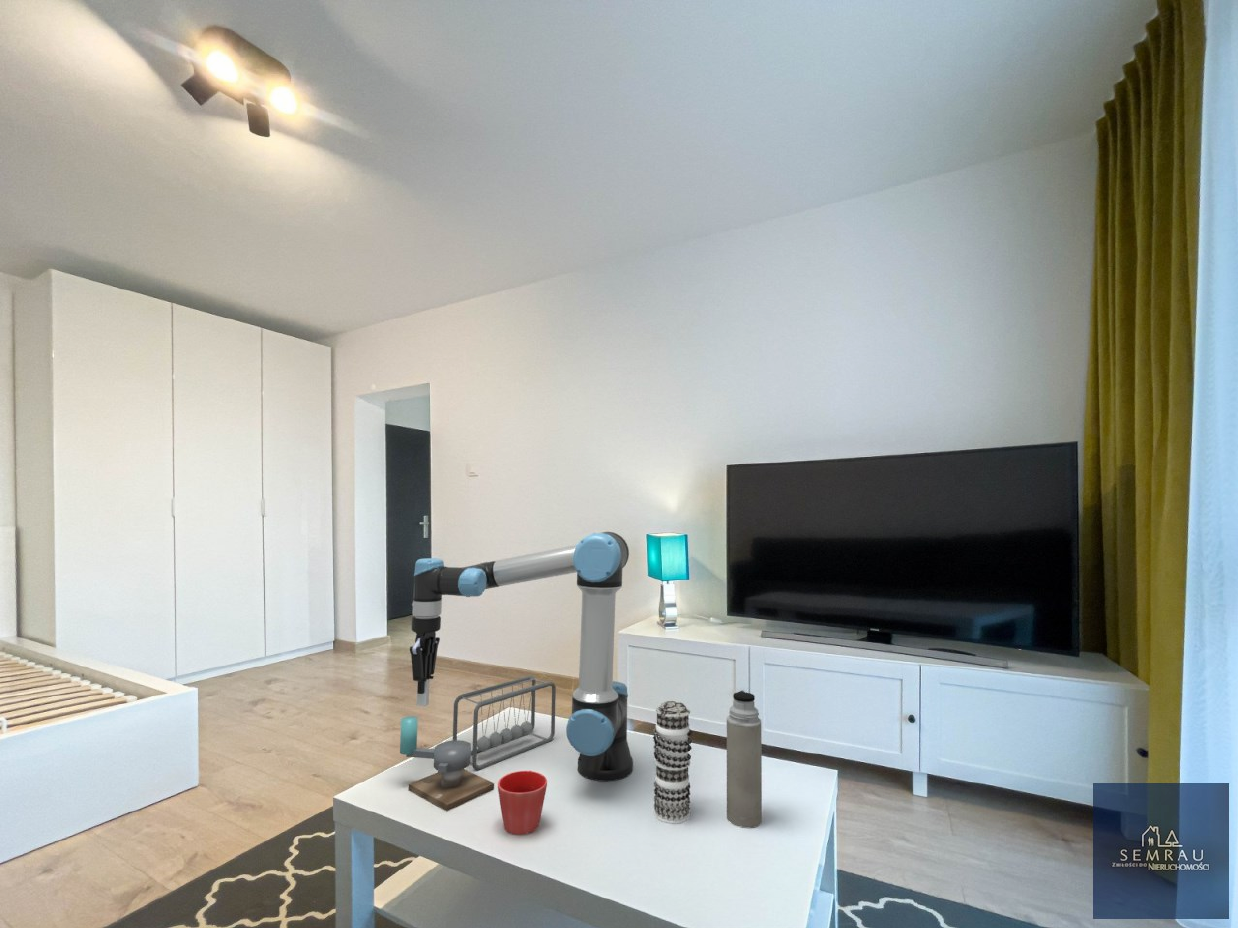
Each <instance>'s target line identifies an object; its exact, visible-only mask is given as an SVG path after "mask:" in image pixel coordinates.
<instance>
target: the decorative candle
mask: <svg viewBox="0 0 1238 928" xmlns="http://www.w3.org/2000/svg"><path fill="white" fill-rule="evenodd" d="M655 712H656V723H655V726H654V727H653V730H652V733H653V737H652V739H653V743H654V745H653V749H654V752H653V758H654V761H653V762H654V764H655V765H656V768H655V769H656V770H655V772H656V773H655V781H653V786H654V789H653V792H654V793H653V794H654V796H653V802H654V804H653V808H654V811H653V815H654V817H655V818H656V819H657V820H658V821H660V822H663V823H666V824H672V825H677V824H678V825H679V824H683V823H685V822H688V820H689V819H690V817H691V813H690V810H691V807H690V805H691V804H690V803H691V800H690V799H691V798H690V795H691V790H690V788H691V783H690V775H689V767H690V765H691V758H692V755H691V754H690V753H689V752H690V751H691V750H692V746H691V744H692V741H693V740H692V739H691V737H690V736H692V734H693V731H692V729H690V723H689V715H690V714H691V710H690V709H689V708H687V706H686V705H685V704H684V702H683V703H682V702H680V701H677V700H675V701H674V700H668V701H664V702H661V703H660V705H659V706H658V707H657V708H656V709H655Z"/></svg>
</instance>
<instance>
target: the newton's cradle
mask: <svg viewBox="0 0 1238 928" xmlns="http://www.w3.org/2000/svg"><path fill="white" fill-rule="evenodd" d="M530 681H531V685H530V684H527V682H530ZM536 681H537V682H539V683H538V684H536ZM520 684H522V685H521V687H518V686H516V685H520ZM523 684H524V685H527V687H524V688H523ZM509 687H511V691H510V690H508V689H507V688H509ZM513 687H515V688H517V690H513V689H514V688H513ZM547 687H551V721H550V723H551V725H550V736H549V737H543V736H541V735H538V734H536V733H534V732H533V730H534V729H535V722H536V721H535V718H536V714H535V713H536V691H538V690H541V689H545V688H547ZM505 688H506V689H505ZM499 690H501V694H500V693H496V691H499ZM503 690H505V691H508V692H507V693H503ZM556 690H557V687H556V685H555V683H554V682H552V681H548V682H546V681H544V680H543V681H542V680H540V679H536V678H535V677H534V676H532V675H528V676H525V677H521V678H518V679H514V680H511V681H506V682H503V683H500V684H496V685H492V686H489V687H485V688H480V689H478V690H474V691H471V692H467V693H463V694H460V695H458V696H457V697H456V698H455V700H454V702H453V716H452V717H453V719H452V741H454V740H458V715H459V713H458V712H459V710H458V709H459V702H460V701H461V700H464V699H465V700H467V701H469V702H472V703H475V704H476V705H475V707H474V709H473V719H472V720H473V723H472V725H473V727H472V749H471V763H470V765H472V769H474V770H476V771H480V770H482V769H485V768H487V767H488V768H489V767H490V766H493V765H494V764H498V763H500V762H503V761H506V760H508V759H510V758H512V757H515V756H517V755H520V754H523V753H525V752H528V751H530V750H532V749H535V748H538V747H539V746H543V745H546V744H547V743H550V742H552V740H553V739H554V738H555V737H554V736H555V733H556V694H557V693H556V692H557V691H556ZM530 692H531V693H530ZM489 693H491V695H493V693H494V694H496V696H494V697H493V696H492V697H488V696H487V695H484V694H489ZM528 693H530V696H531V697H529V702H530V703H529V704H528V705H529V706H528V709H530V707H531V709H530V710H527V711H528V713H527V715H529V713H531V714H530V721H529V720H528V719H529V716H527V718H524V722H522V723H521V724H520V725H519V721H517V722H516V719H514V724H515V725H512V726H511V728H508V726H509V723H507V725H504V729H502V730H501V731H500V733H499V732H498V730H496V729H498V727H499V723H497V725H496V724H495V722H493V730H494V732H492V733H491V734H490V736H489V737H487V736H486V735H482V736H481V737H478V726H479V724H478V722H479V711H480V710H481V711H480V712H481V713H480V714H483V707H485V706H488V705H489V707H488V711H490V710H491V709H490V708H491V707H494V704H495V703H498V702H502V703H500V706H499V709H501V707H502V706H503V707H502V708H503V710H505V707H504V706H505V704H504V702H505V700H508V699H510V702H513V705H515V702H514V700H515V699H514V698H515V697H518V696H521V697H520V700H522V699H523V700H522V701H523V704H525V699H524V696H523V695H524V694H528ZM497 695H498V696H497ZM478 696H482V697H487V698H486V699H483V700H480V701H476V700H472V699H471V698H474V697H478ZM522 701H520V703H519V707H521V705H522ZM491 705H492V706H491ZM530 705H531V706H530ZM511 706H512V703H510V705H509V709H511V708H512V707H511ZM515 710H516V709H515V708H513V713H514V716H516V712H515ZM523 710H524V714H526V709H525V707H523ZM494 711H495V710H492V715H493V717H492V718H493V719H495V714H494V713H495V712H494ZM520 711H521V708H519V710H518V713H520ZM510 712H511V710H509V713H508V715H510V714H511V713H510ZM500 713H501V710H499V712H498V716H500ZM487 715H488V716H487V717H489V715H490V712H488V713H487ZM505 717H506V715H505V713H503V718H504V721H506V718H505ZM519 717H520V714H518V717H517V720H519ZM509 719H510V716H508V719H507V722H509ZM499 720H500V717H498V718H497V722H499ZM488 722H489V718H487V719H486V725H485V730H484V725H483V724H484V722H483V720H481V727H482V728H481V729H482V732H484V734H486V732H487V728H488V727H487V726H488ZM496 726H497V727H496ZM527 735H532V736H535V737H538V738H541V740H539V741H537V742H535V743H532V744H529V745H527V746H525V747H522V748H519V749H516V750H515V751H512V752H508V753H506V754H504V755H501V756H499V757H496V758H494V759H491V760H489V761H487V762H484V763H481V764H479V765H478V764H477V759H478V758H477V754H478V753H481V752H484V751H487V750H490V749H491V748H495V747H498V746H500V745H503V744H505V743H508V742H511V741H514V740H517V739H519V738H522V737H524V736H527Z"/></svg>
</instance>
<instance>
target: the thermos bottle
mask: <svg viewBox="0 0 1238 928" xmlns="http://www.w3.org/2000/svg"><path fill="white" fill-rule="evenodd" d="M732 697H733V702H732V703H733V705H732V706H730V707H729V712H728V714H729V715H727V716H726V818H727V819H726V820H727V821H728V822H729V821H730V822H731V823H730V822H729V823H730V824H732V825H733V826H736V827H738V826H742V827H741V828H743V827H753V828H755V827H754V826H757V827H759V826H760V825H761V824H762V822H763V806H762V805H763V804H762V802H763V801H762V800H763V799H762V795H763V790H762V789H763V788H762V787H763V784H762V783H763V782H762V781H763V780H762V778H763V775H762V771H763V769H762V765H763V764H762V758H763V757H762V752H763V750H762V744H763V743H762V741H763V740H762V719H761V718H760V717H759V716H760V713H759V709H757V707H756V706H755V700H756V699H755V695H754V694H753V693H749V692H743V691H740V692H739V691H738V692H735V693H733V696H732Z"/></svg>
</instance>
